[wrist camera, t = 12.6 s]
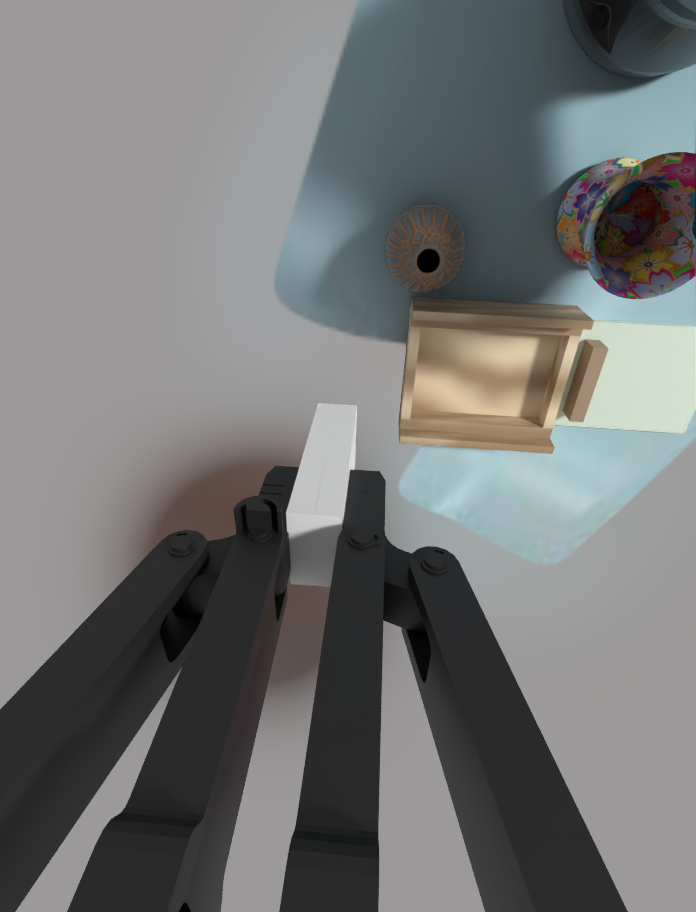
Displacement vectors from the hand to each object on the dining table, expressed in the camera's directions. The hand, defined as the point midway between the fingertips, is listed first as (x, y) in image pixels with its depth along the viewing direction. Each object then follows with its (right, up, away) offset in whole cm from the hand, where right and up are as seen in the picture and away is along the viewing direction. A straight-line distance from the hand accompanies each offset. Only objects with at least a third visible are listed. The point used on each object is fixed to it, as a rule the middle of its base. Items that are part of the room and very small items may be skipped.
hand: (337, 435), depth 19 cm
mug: (+24, +20, +23) cm, 40 cm away
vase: (+7, +19, +26) cm, 33 cm away
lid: (+30, +8, +32) cm, 44 cm away
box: (+14, +8, +32) cm, 36 cm away
